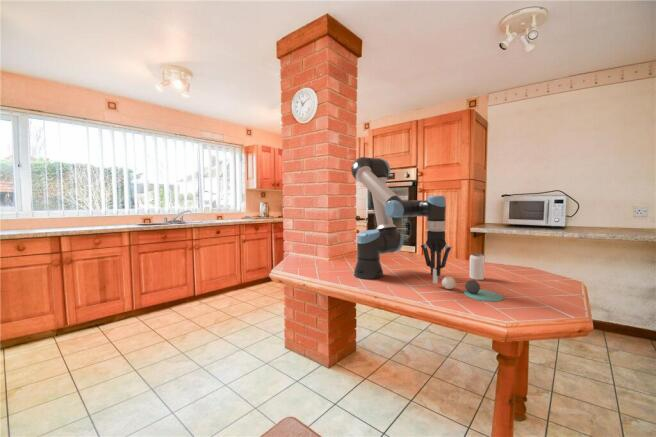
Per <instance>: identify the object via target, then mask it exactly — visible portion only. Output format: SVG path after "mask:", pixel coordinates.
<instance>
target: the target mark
mask: <svg viewBox="0 0 656 437" xmlns="http://www.w3.org/2000/svg"><path fill="white" fill-rule="evenodd" d="M463 294H464V296H465V297H468V298H471V299H473V300H477V301H480V302H481V301H482V302H491V303H492V302H496V303H497V302H501V301H503V300H504V296H503V295H502V294H500V293H497V292H495V291H491V290H487V289H486V290H485V289H480V290H479V292H478V293H475V294H472V293H469V292H468V291H467V290H466V289H465V290H464V291H463Z"/></svg>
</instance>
